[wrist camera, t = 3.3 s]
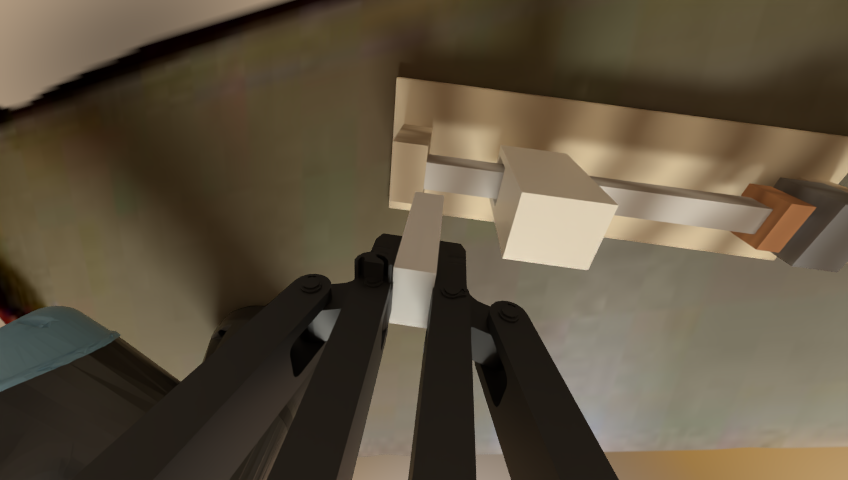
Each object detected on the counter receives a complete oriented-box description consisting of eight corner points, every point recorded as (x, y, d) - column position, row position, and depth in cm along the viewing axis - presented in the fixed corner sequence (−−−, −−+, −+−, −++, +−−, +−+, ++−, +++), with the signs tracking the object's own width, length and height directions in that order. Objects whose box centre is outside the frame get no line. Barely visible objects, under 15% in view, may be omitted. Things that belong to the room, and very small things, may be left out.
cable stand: (390, 204, 31) (373, 245, 25) (398, 76, 25) (379, 87, 19) (766, 255, 31) (847, 310, 24) (862, 138, 25) (1001, 170, 18)
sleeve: (488, 195, 27) (502, 258, 19) (500, 144, 24) (522, 192, 17) (549, 203, 27) (587, 270, 19) (566, 153, 24) (618, 205, 17)
